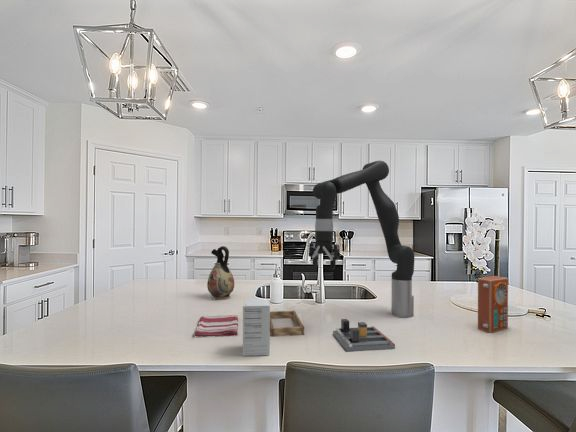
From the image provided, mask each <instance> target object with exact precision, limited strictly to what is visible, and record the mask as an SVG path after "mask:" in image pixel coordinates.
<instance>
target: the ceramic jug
mask: <svg viewBox="0 0 576 432" xmlns="http://www.w3.org/2000/svg"><path fill="white" fill-rule="evenodd" d="M223 251H224V253H223ZM210 253H211V255H213V256H215V257H216V263H215V264H214V266H213V267H212V269H211V271H210V273H209V275H208V278H207V283H206V285H207V291H208V292H209V294H211V296H212V297H213V299H214V298H215V299H214V300H226V299H229V298H231V294H232V292H233V291H234V289H235V278H234V275H233V273H232V271H231V270H230V268H229V267H228V262H229V258H230V257H229V256H230V250H229V248H228V247H227V246H224V245H223V246H222V245H221V246H219V247H218V248H217V249H216V248H214V249H212V250H211V252H210Z"/></svg>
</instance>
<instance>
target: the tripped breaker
mask: <svg viewBox="0 0 576 432" xmlns="http://www.w3.org/2000/svg"><path fill="white" fill-rule="evenodd" d="M367 327H368V324H367V323H366V322H364V321H359V322H357V328H358V330H359V336H367Z"/></svg>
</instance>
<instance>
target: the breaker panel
mask: <svg viewBox="0 0 576 432" xmlns="http://www.w3.org/2000/svg"><path fill="white" fill-rule="evenodd" d="M332 335H333V337H336V338H335V339H336V341H337V342H338V343H339V342H340V343H339V344H340V345H341V346H343V347H342V348H343V349H344V351H345V352H359V351H360V352H363V351H374V350H375V351H378V350H379V351H380V350H392V349H393V350H395V349H396V343H394V342H393V341H392V340H391V339H390V338H389V337H387V335H385V334H383V333H382V332H381V331H380V330H379V329H378V328H376V327H375V326H373V325H372V326H367V336H359V330H358V327H350V320H349V319H348V318H341V320H340V328H339V327H337V328H336V327H335V330H333V331H332Z"/></svg>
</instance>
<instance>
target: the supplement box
mask: <svg viewBox="0 0 576 432" xmlns="http://www.w3.org/2000/svg"><path fill="white" fill-rule="evenodd" d="M270 305H271V304H270V299H268V298H267V299H264V298H263V299H244V301H243V306H242V356H243V357H246V356H247V357H249V356H250V357H251V356H257V357H258V356H260V357H261V356H270V353H271V352H270V344H271V343H270V341H271V339H270V338H271V337H270V335H271V333H270V312H271V309H270V308H271V307H270Z"/></svg>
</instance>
